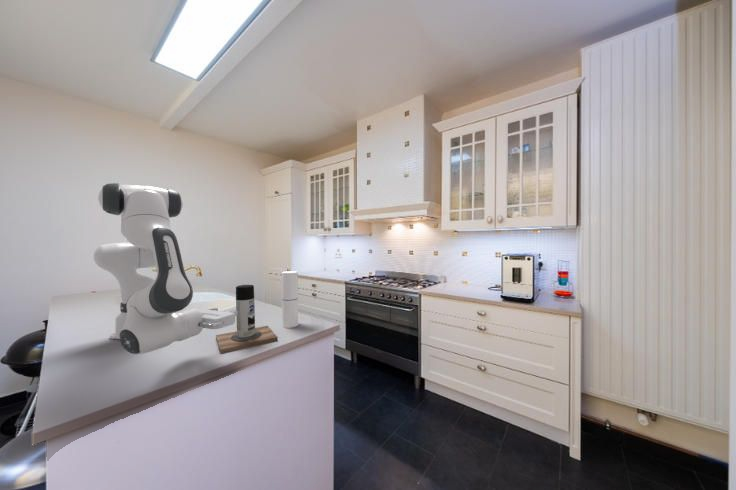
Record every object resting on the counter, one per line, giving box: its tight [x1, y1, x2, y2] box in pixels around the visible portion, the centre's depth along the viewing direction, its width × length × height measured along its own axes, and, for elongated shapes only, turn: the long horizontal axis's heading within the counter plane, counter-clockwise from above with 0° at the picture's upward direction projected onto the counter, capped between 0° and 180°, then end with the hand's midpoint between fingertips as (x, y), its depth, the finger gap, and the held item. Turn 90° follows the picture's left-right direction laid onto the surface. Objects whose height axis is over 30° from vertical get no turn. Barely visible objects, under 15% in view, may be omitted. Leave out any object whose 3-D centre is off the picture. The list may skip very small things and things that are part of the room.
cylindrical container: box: [281, 270, 299, 329], centre depth 121 cm, size 7×7×25 cm
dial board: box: [215, 325, 278, 354], centre depth 104 cm, size 16×20×2 cm
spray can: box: [235, 284, 256, 338], centre depth 104 cm, size 7×7×20 cm
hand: (226, 311), depth 94 cm, fingers open, 8 cm apart
